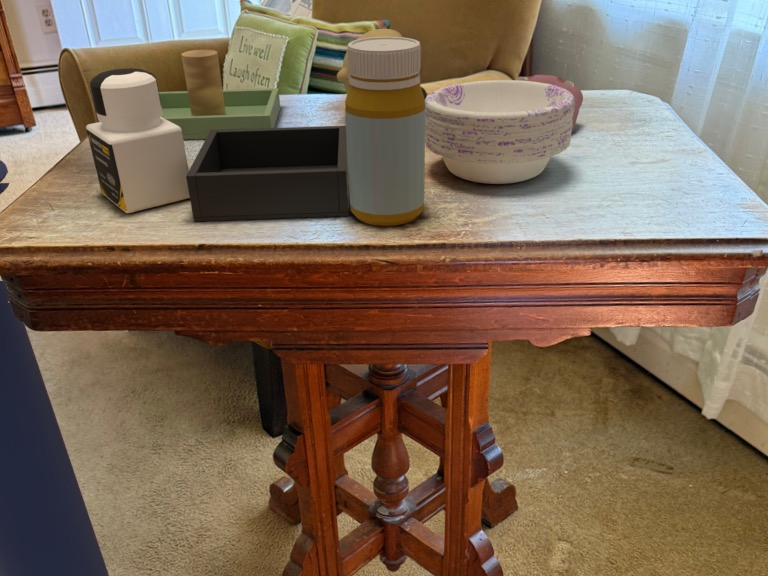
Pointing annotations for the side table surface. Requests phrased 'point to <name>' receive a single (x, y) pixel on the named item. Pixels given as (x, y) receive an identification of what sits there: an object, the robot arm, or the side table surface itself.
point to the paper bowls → (498, 128)
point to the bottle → (385, 130)
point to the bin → (270, 174)
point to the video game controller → (563, 84)
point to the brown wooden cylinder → (203, 82)
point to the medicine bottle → (135, 142)
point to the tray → (239, 105)
